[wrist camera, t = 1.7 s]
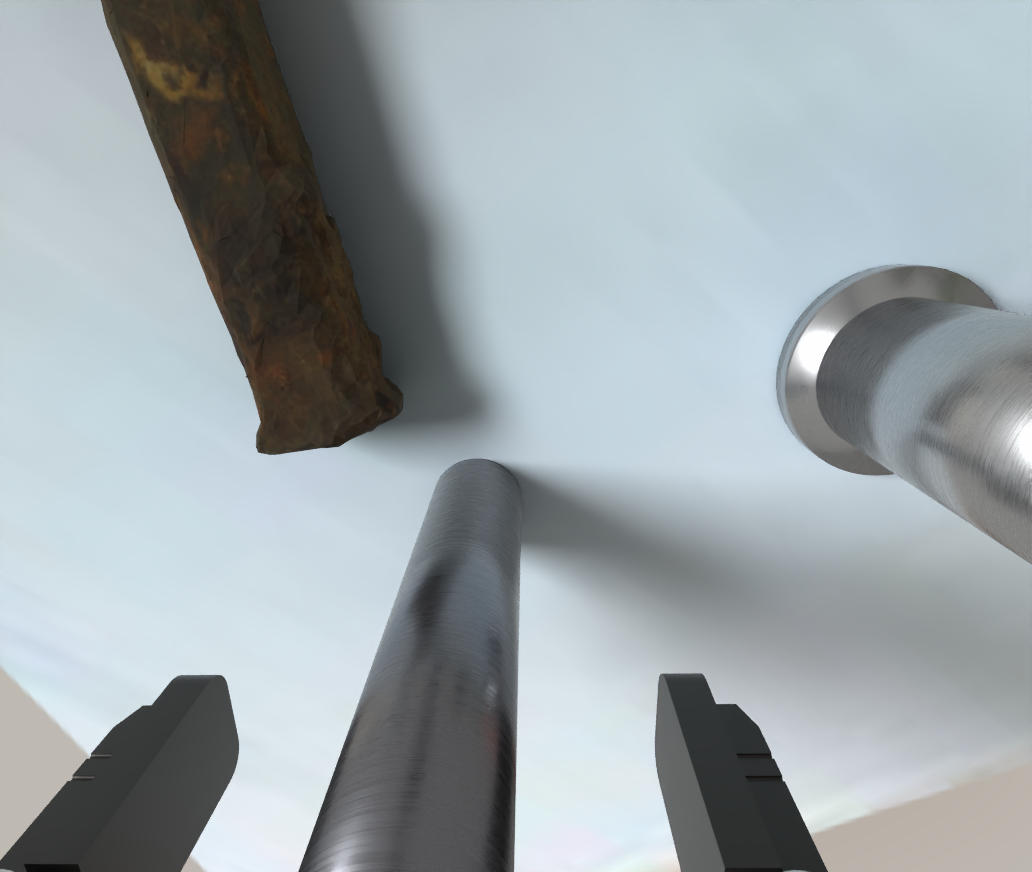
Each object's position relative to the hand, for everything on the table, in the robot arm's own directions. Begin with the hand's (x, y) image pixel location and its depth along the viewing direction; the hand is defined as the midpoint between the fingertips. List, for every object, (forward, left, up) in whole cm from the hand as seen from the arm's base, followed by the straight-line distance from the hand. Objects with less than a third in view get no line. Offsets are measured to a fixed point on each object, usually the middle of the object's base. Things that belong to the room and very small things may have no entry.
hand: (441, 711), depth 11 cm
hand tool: (-12, -6, -9) cm, 16 cm away
